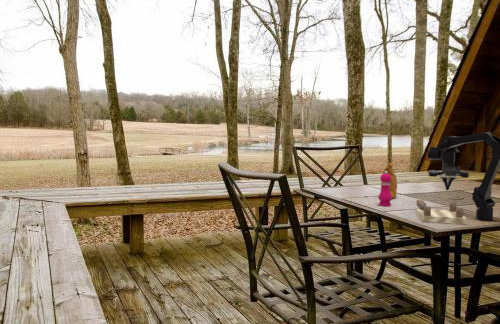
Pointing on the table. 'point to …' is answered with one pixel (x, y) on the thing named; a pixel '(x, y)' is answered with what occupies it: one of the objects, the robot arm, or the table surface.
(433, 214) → the stool seat
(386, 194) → the pepper mill
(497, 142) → the robot arm
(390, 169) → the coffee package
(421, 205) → the hinged leg
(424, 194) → the table surface
